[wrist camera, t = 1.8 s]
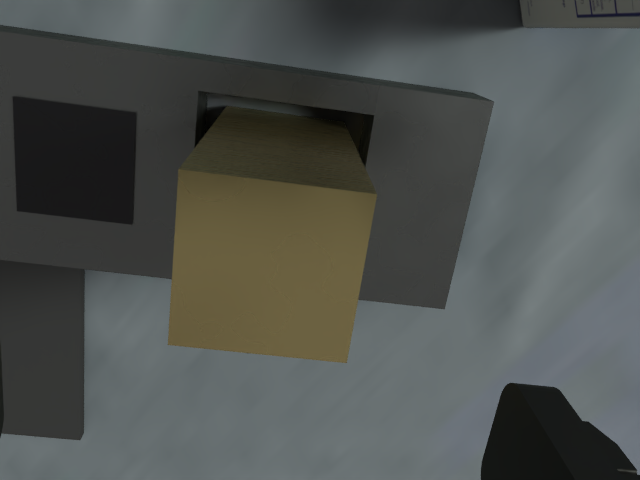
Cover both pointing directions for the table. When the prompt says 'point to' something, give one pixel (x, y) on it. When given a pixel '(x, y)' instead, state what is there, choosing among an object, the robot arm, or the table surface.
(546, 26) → the medicine box
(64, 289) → the rubber mat
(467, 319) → the table surface
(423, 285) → the rail
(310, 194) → the brass block
